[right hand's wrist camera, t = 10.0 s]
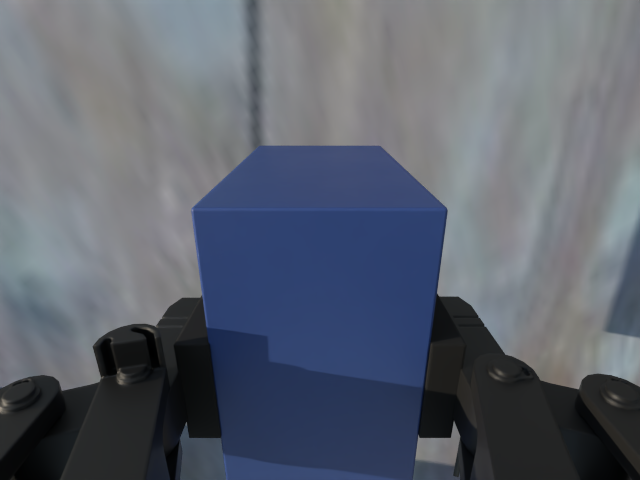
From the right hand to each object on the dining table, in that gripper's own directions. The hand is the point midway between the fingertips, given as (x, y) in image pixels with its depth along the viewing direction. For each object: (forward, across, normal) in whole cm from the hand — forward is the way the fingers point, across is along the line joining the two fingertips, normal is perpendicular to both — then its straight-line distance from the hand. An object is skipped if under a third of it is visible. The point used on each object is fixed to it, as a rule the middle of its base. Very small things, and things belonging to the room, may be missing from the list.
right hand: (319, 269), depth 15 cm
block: (+2, 0, 0) cm, 2 cm away
